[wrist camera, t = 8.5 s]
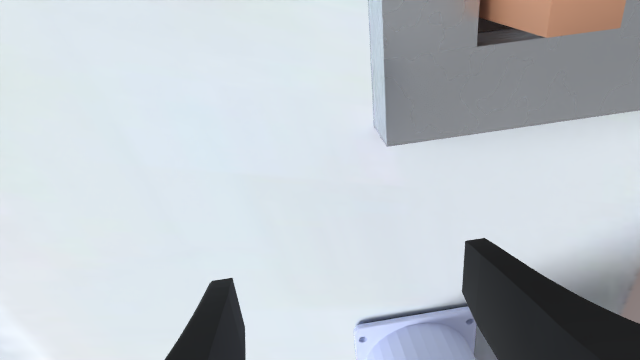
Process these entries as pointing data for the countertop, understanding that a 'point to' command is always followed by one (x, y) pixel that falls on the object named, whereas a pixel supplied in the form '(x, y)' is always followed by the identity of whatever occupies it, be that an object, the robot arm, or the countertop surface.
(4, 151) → the countertop surface
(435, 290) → the countertop surface
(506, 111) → the grey square base
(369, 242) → the countertop surface
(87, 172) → the countertop surface
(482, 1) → the pin
